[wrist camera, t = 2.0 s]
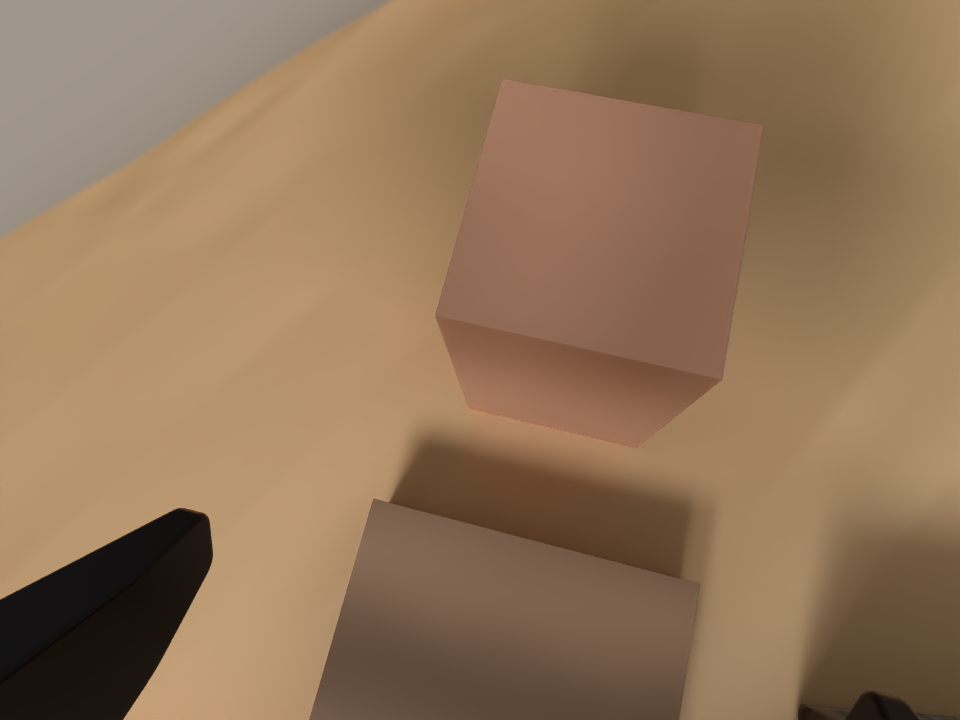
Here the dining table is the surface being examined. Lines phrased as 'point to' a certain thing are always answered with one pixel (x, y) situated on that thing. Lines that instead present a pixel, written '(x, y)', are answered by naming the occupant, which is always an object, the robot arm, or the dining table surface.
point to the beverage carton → (845, 714)
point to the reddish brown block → (597, 261)
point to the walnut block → (500, 629)
